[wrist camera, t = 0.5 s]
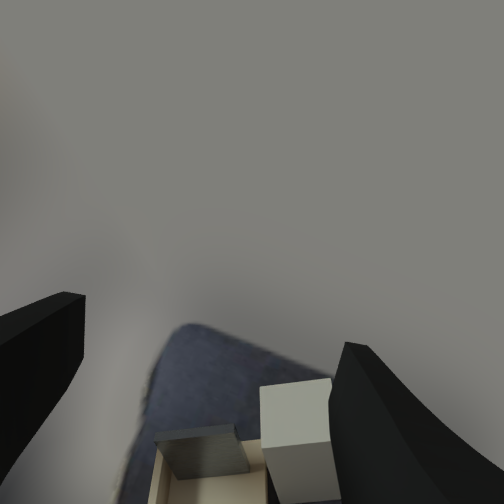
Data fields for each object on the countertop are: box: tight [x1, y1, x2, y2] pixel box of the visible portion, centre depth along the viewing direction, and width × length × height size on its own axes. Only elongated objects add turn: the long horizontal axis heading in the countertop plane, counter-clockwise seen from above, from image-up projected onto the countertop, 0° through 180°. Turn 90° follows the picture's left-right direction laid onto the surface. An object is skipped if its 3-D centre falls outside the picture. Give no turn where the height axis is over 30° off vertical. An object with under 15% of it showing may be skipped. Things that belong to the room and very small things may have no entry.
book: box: [260, 378, 341, 504], centre depth 27 cm, size 4×4×7 cm
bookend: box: [154, 424, 250, 481], centre depth 28 cm, size 1×5×5 cm, turn 91°
